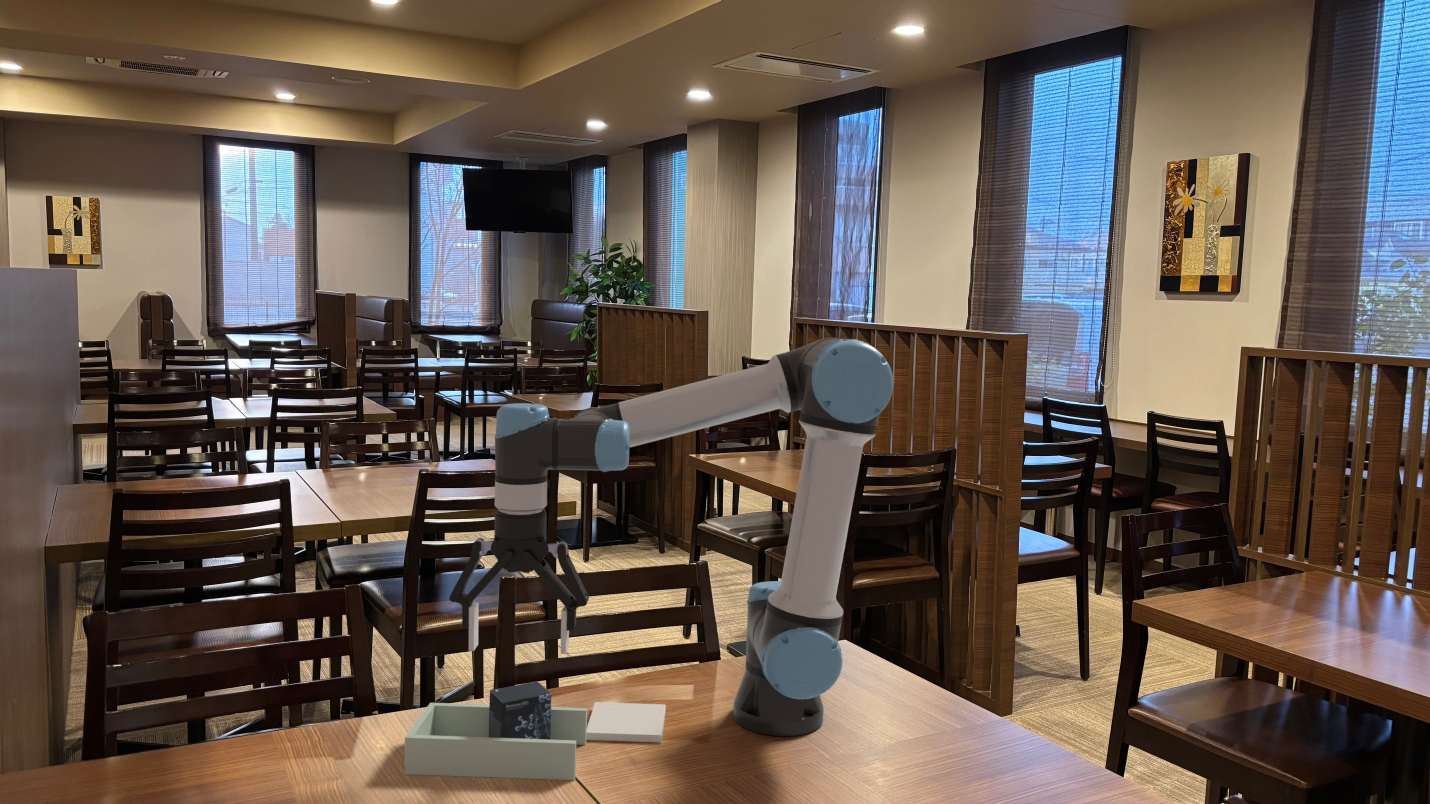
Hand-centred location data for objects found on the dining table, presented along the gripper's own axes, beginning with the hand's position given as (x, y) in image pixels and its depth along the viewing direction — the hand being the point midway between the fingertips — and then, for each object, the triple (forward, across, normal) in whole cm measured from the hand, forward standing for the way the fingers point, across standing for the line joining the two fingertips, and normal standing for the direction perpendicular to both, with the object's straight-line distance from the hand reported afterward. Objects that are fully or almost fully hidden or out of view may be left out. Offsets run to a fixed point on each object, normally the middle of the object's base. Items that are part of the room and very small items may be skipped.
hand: (519, 649), depth 147 cm
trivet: (+17, -15, -13) cm, 26 cm away
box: (+17, 0, 0) cm, 17 cm away
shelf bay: (+17, +3, 0) cm, 17 cm away
